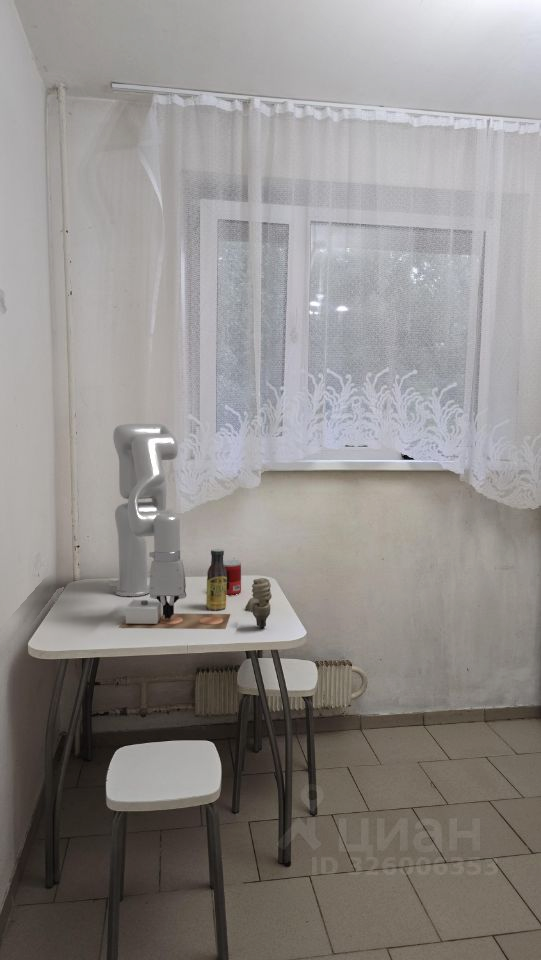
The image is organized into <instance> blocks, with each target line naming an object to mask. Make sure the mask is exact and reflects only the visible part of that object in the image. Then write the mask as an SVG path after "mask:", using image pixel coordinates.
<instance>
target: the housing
mask: <svg viewBox="0 0 541 960" xmlns="http://www.w3.org/2000/svg"><path fill="white" fill-rule="evenodd" d="M162 615H163V605H162V604H161V603H160V602H159V601H158V600H157V599H132V600H131V602H129V604H128V605H127V606H126V607H125V619H126V623H133V624H157V622H158V621H159V619H160V618H161V616H162Z"/></svg>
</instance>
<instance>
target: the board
mask: <svg viewBox="0 0 541 960" xmlns="http://www.w3.org/2000/svg"><path fill="white" fill-rule="evenodd" d="M230 617H231V613H174V615H172V617H171V618H170V619H168V618H167V619H165V615H162V616H161V618H160V619H159V621H158V622H157V624H133V623H126V618H125V619H124V620H123V621H122V622H121V624H120V625H119V626H118V627H117V628H118V629H171V630H172V629H173V630H174V629H176V630H177V629H179V630H183V629H184V630H185V629H187V630H191V629H192V630H193V629H194V630H199V629H200V630H226V629H227V626H228V624H229V620H230Z"/></svg>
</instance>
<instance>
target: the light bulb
mask: <svg viewBox="0 0 541 960" xmlns="http://www.w3.org/2000/svg"><path fill="white" fill-rule="evenodd" d="M252 581H253V584H252V585H251V588H252V589H251V592H252V594H251V596H252V598H253V597H254V598H257V599H258V600H259V603H254V604H253V607H252V610H253V612H252V615H253V617H254V618H255V620H256V626H257V627H258V628H260V629H262V630H264V629H265V627H266V626H267V619H268V617H269V616H270V614H271V604H270V603H269V604H268V603H266V600H267V599H269V597H270V592H271V587H272V586H271V583H270V580H269V579H268V578H264V577H260V578H258V579H257V578H255V579H253V580H252Z"/></svg>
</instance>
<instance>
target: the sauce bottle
mask: <svg viewBox="0 0 541 960" xmlns="http://www.w3.org/2000/svg"><path fill="white" fill-rule="evenodd" d="M224 554H225V550H224V549H223V548H212V549H211V550H210V555H211V561H210V566H209V568H208V570H207V576H206V601H205V602H206V604H205V605H206V606H205V607H206V611H209V612H220V611H224V610H225V609H226V607H227V596H226V585H227V576H226V568H225V566H224V564H223V560H224V556H225V555H224Z"/></svg>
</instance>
